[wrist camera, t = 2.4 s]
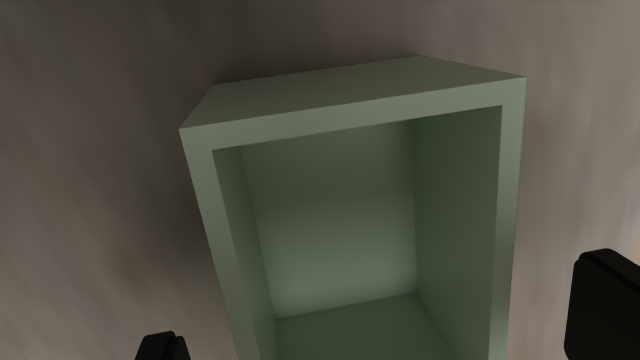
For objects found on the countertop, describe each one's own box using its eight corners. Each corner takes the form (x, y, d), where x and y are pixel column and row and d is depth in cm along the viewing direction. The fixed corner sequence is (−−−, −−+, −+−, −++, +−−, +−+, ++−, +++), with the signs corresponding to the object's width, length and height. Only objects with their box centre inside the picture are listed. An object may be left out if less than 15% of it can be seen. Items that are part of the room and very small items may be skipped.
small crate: (265, 322, 17) (268, 469, 11) (213, 84, 13) (178, 129, 8) (424, 291, 17) (500, 416, 12) (418, 54, 14) (526, 77, 8)
